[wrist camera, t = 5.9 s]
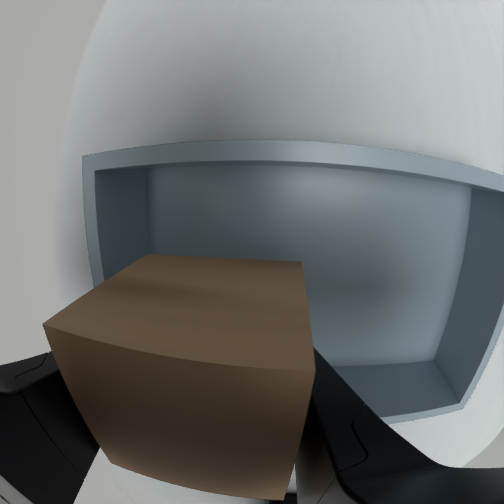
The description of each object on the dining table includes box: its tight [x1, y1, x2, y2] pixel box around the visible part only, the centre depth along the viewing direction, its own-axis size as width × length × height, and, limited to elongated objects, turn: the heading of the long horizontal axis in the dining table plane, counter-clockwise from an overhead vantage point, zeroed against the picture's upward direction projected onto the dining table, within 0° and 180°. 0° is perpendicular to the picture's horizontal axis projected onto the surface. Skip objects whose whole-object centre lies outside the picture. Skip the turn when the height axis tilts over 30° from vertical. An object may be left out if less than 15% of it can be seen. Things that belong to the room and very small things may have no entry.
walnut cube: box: [43, 254, 316, 500], centre depth 7 cm, size 5×5×5 cm
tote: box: [82, 140, 504, 424], centre depth 11 cm, size 11×17×5 cm, turn 89°
